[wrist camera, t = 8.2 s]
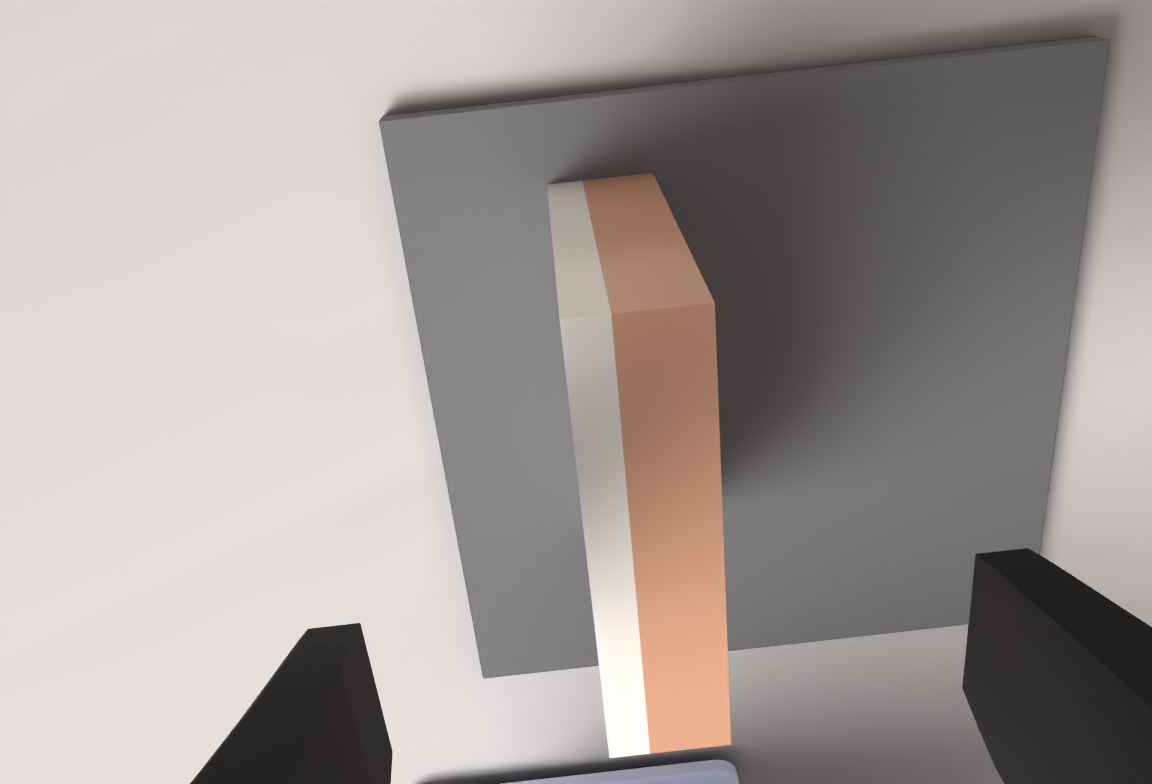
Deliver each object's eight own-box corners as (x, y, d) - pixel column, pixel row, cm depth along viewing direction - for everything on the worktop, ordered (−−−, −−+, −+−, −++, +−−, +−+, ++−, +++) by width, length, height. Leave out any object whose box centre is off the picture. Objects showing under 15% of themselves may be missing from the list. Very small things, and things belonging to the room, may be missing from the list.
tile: (674, 516, 20) (731, 744, 15) (585, 526, 20) (609, 758, 15) (652, 172, 17) (714, 302, 11) (547, 184, 17) (559, 319, 11)
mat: (1020, 602, 22) (1030, 616, 22) (483, 662, 22) (483, 678, 22) (1093, 36, 17) (1109, 39, 16) (382, 115, 17) (379, 121, 16)
